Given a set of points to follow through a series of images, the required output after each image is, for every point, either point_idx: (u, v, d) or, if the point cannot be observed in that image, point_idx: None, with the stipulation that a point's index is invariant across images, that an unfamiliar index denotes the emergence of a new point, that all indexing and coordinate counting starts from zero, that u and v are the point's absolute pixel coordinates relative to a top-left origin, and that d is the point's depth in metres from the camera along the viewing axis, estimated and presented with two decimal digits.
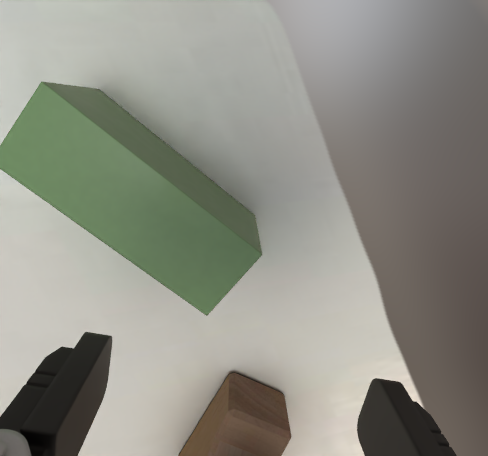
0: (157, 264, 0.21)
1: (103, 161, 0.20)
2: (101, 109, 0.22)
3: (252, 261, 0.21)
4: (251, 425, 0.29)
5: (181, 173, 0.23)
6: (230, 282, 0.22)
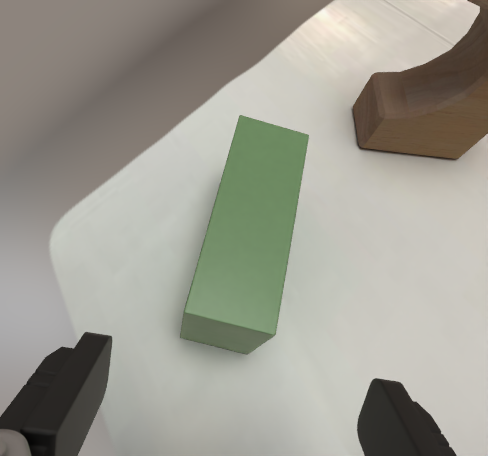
0: (288, 179, 0.25)
1: (227, 244, 0.22)
2: None
3: (248, 118, 0.26)
4: (383, 98, 0.34)
5: None
6: (273, 127, 0.26)
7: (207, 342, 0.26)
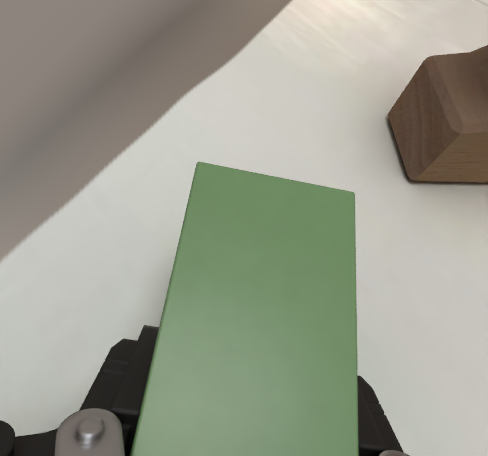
0: (327, 317, 0.10)
1: None
2: None
3: (218, 169, 0.12)
4: (454, 98, 0.20)
5: None
6: (275, 183, 0.12)
7: None
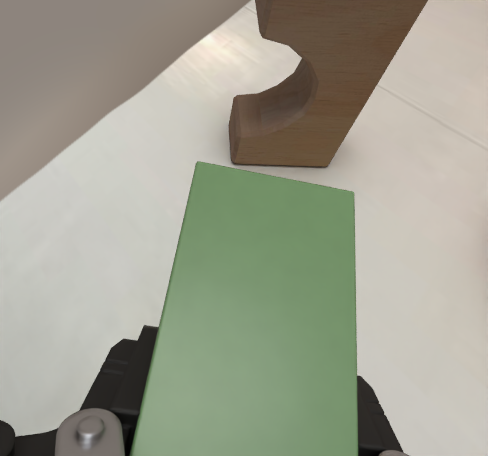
0: (326, 317, 0.10)
1: None
2: None
3: (217, 168, 0.12)
4: (241, 119, 0.37)
5: None
6: (275, 182, 0.12)
7: None
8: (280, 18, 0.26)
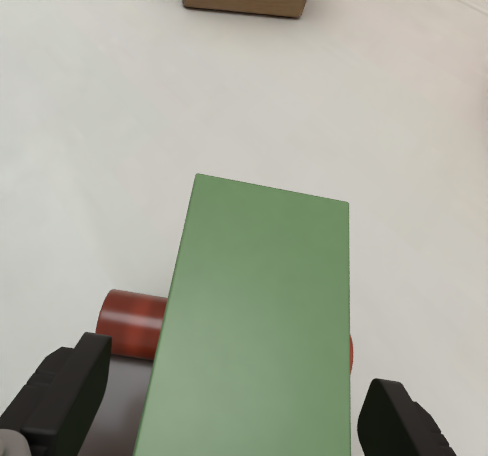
0: (321, 325, 0.10)
1: None
2: None
3: (216, 180, 0.12)
4: None
5: None
6: (272, 193, 0.12)
7: None
8: None
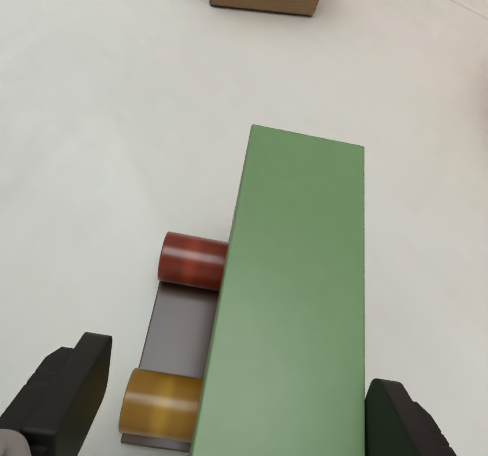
0: (344, 224, 0.15)
1: (252, 359, 0.12)
2: None
3: (266, 129, 0.16)
4: None
5: None
6: (307, 139, 0.16)
7: None
8: None
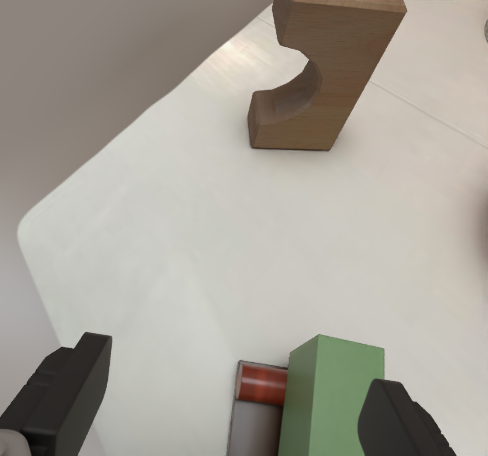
0: None
1: None
2: None
3: (327, 338, 0.27)
4: (259, 110, 0.46)
5: (296, 429, 0.28)
6: (351, 344, 0.27)
7: None
8: (293, 31, 0.35)
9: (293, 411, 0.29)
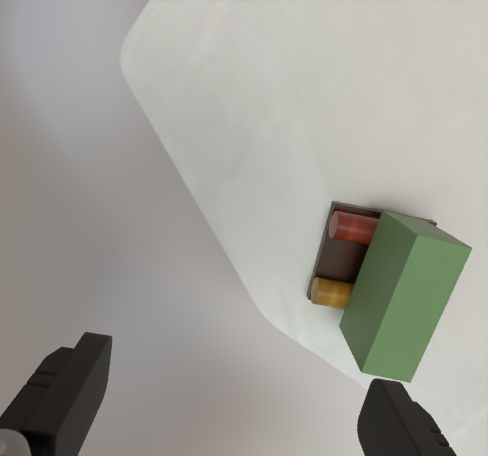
0: (444, 289, 0.33)
1: (391, 335, 0.35)
2: (357, 333, 0.38)
3: (424, 238, 0.32)
4: None
5: (377, 282, 0.37)
6: (443, 244, 0.32)
7: None
8: None
9: (377, 266, 0.38)
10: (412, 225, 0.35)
